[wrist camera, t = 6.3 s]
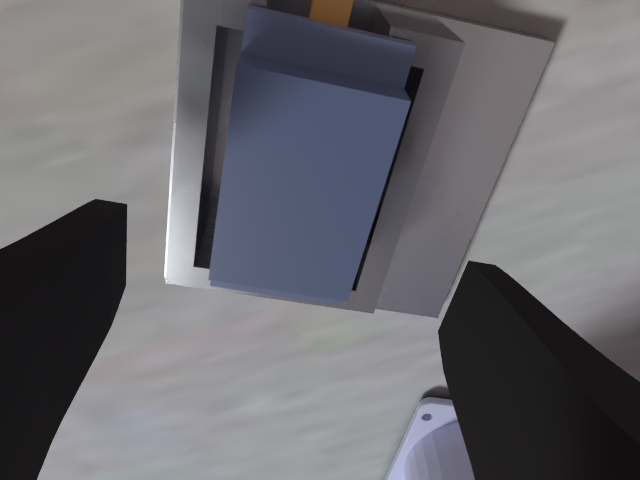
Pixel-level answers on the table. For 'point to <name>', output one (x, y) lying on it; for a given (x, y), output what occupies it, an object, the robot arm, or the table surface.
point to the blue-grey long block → (306, 152)
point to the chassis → (409, 159)
